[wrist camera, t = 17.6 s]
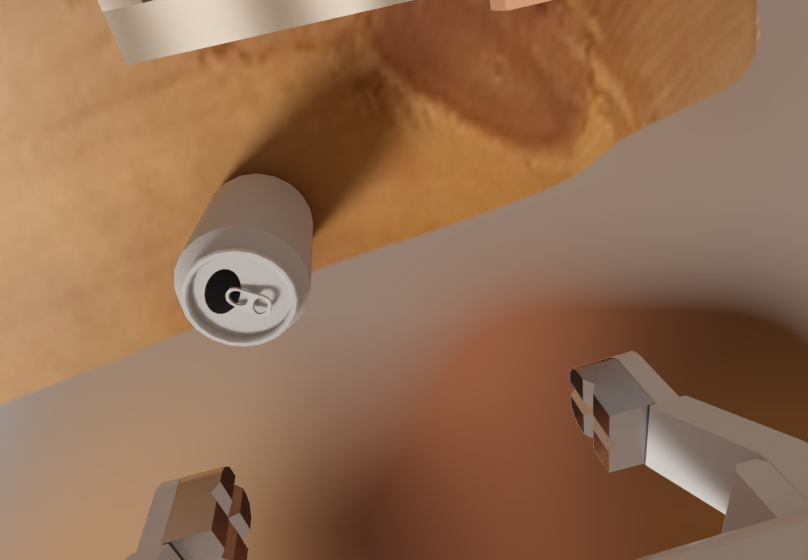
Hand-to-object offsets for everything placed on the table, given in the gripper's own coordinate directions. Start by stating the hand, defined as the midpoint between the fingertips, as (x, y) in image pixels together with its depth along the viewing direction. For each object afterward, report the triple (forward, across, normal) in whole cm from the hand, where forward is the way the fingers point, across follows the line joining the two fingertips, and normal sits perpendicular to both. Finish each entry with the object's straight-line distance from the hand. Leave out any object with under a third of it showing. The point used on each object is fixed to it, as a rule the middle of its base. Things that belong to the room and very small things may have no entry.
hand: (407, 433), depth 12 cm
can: (+28, +7, +4) cm, 29 cm away
